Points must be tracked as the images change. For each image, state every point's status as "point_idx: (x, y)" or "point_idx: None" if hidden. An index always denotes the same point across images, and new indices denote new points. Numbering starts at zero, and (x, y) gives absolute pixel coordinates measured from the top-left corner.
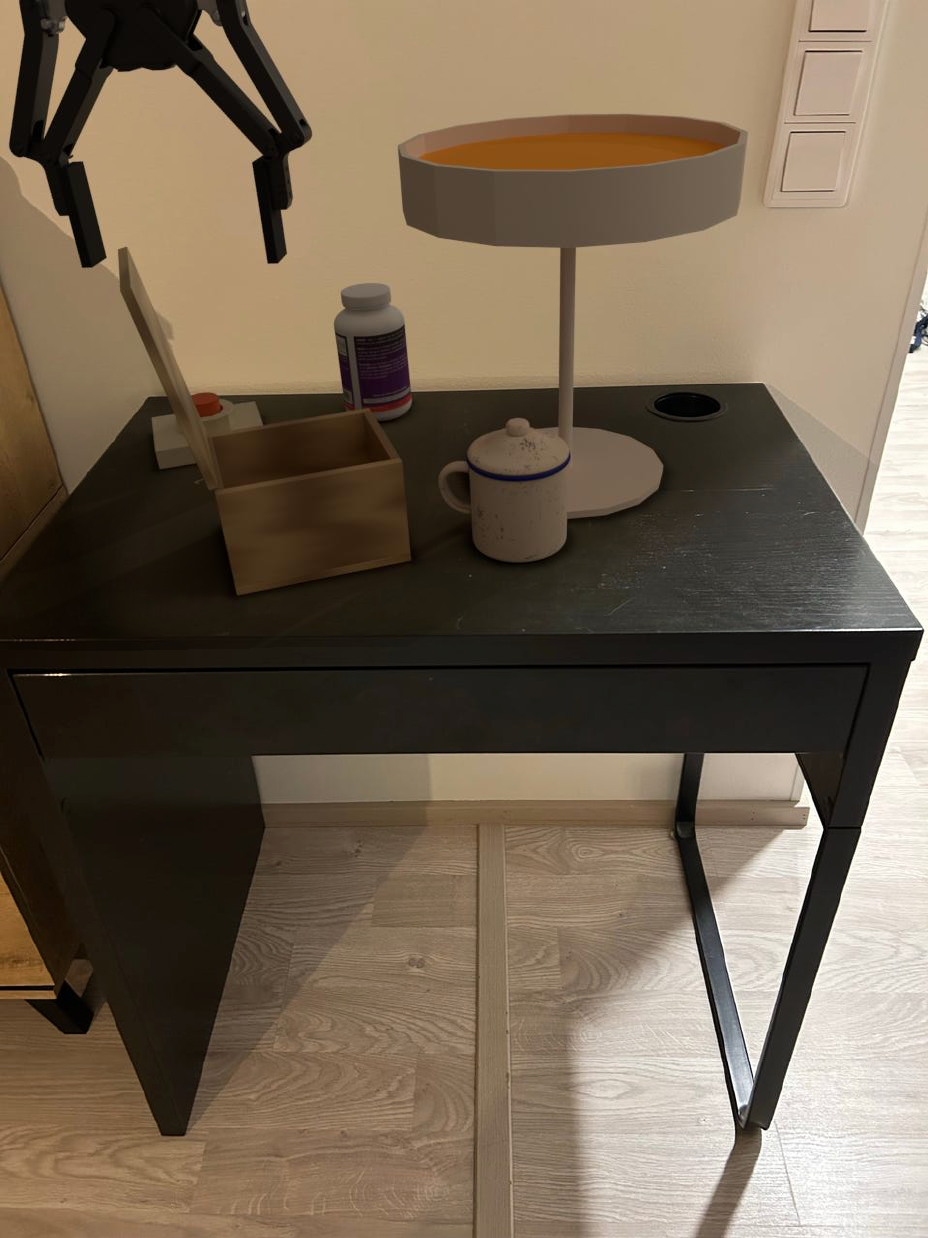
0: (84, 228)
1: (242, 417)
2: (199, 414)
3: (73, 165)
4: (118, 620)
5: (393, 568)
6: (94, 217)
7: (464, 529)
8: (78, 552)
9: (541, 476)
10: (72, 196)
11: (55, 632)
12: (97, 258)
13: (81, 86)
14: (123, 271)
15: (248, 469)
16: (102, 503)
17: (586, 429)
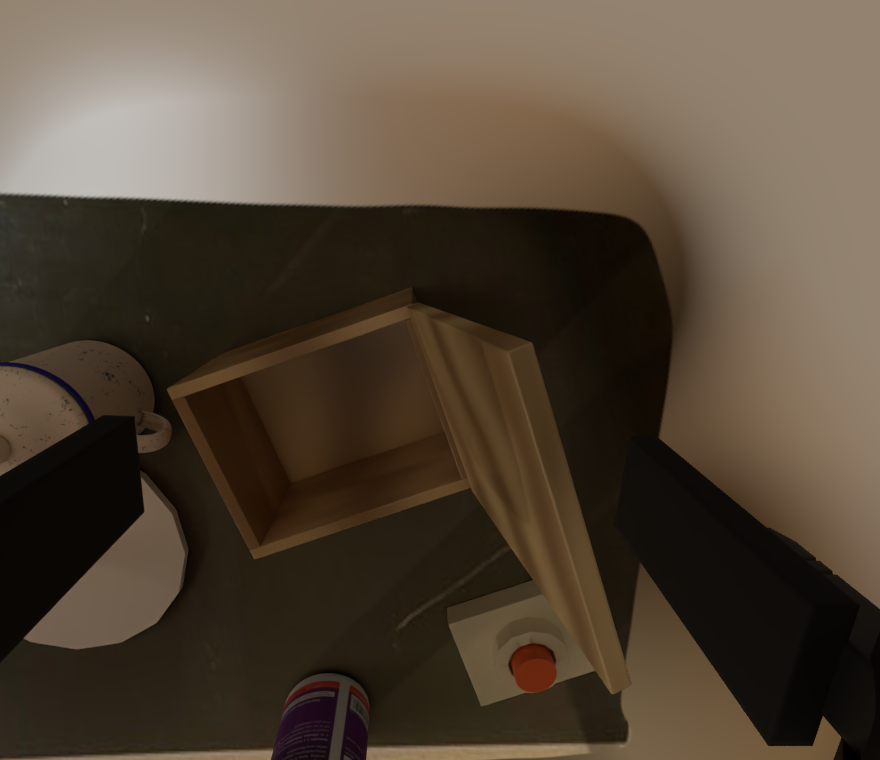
0: (675, 495)
1: (487, 664)
2: (534, 648)
3: (792, 662)
4: (534, 243)
5: (241, 338)
6: (665, 579)
7: (171, 420)
8: (617, 387)
9: None
10: (742, 533)
11: (598, 223)
12: (627, 481)
13: None
14: (566, 497)
15: (421, 467)
16: (617, 493)
17: (47, 640)
